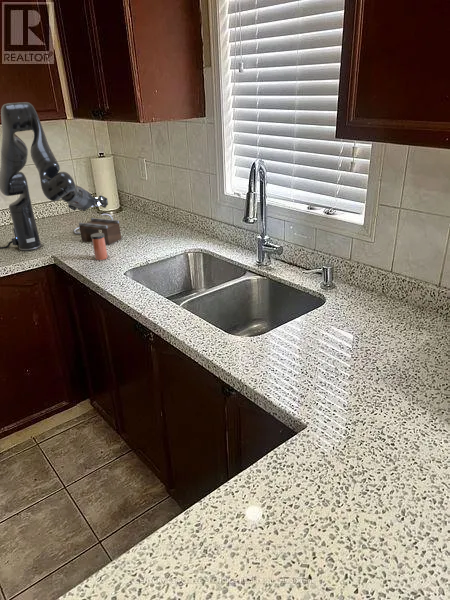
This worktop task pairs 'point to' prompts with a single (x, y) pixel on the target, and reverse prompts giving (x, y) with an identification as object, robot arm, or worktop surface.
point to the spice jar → (99, 246)
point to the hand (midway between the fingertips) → (94, 206)
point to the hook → (79, 228)
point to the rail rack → (107, 227)
